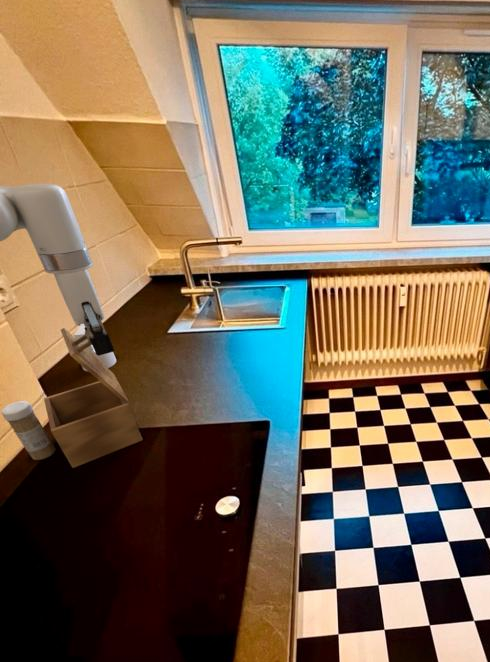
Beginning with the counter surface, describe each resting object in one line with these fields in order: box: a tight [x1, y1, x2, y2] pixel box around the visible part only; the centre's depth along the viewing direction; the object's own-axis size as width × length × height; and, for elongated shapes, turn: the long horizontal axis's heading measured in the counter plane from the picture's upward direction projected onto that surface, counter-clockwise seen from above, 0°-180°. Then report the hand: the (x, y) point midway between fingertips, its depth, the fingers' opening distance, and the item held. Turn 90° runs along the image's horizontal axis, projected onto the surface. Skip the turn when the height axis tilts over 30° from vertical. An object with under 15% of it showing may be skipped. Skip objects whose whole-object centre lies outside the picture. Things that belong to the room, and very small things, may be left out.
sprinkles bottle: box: [0, 400, 57, 461], centre depth 80 cm, size 5×5×13 cm
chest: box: [43, 380, 144, 469], centre depth 86 cm, size 14×15×11 cm
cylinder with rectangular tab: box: [73, 324, 117, 373], centre depth 114 cm, size 9×9×12 cm
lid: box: [60, 327, 130, 404], centre depth 82 cm, size 14×15×5 cm
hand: (102, 347), depth 80 cm, fingers closed on lid, 5 cm apart
